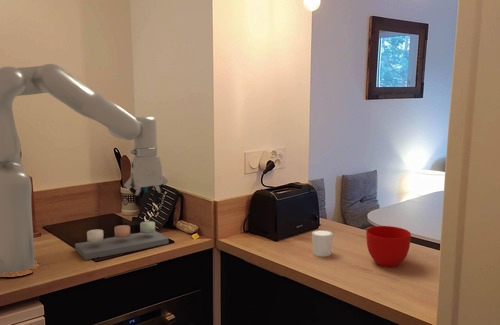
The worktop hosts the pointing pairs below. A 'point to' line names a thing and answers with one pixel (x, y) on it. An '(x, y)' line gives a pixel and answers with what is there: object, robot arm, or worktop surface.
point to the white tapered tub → (322, 242)
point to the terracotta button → (122, 231)
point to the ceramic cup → (388, 244)
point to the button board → (120, 245)
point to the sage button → (147, 227)
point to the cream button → (95, 236)
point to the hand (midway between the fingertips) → (147, 204)
